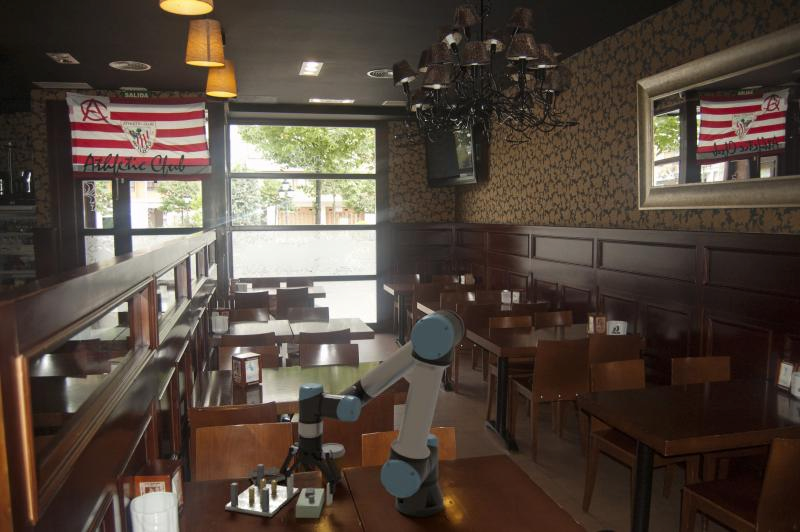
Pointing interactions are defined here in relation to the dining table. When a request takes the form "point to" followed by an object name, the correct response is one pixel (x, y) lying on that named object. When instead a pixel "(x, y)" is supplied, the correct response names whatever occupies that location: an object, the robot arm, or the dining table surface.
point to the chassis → (259, 496)
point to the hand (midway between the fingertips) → (309, 499)
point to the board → (310, 503)
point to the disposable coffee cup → (334, 458)
